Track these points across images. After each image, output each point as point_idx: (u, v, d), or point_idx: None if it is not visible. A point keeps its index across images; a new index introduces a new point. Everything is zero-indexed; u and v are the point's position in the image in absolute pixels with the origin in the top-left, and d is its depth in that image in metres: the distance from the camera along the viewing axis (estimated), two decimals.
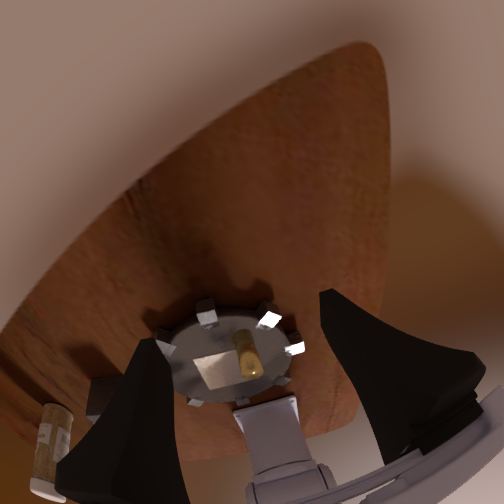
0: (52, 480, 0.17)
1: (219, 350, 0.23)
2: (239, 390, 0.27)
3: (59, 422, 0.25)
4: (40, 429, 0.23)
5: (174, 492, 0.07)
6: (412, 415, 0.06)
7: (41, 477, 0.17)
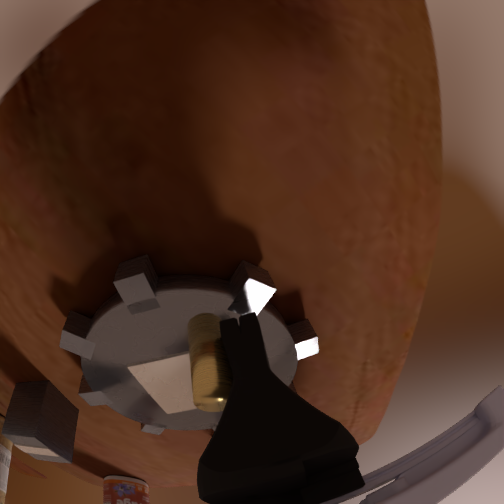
0: None
1: (168, 352, 0.13)
2: (215, 414, 0.16)
3: None
4: None
5: None
6: None
7: None
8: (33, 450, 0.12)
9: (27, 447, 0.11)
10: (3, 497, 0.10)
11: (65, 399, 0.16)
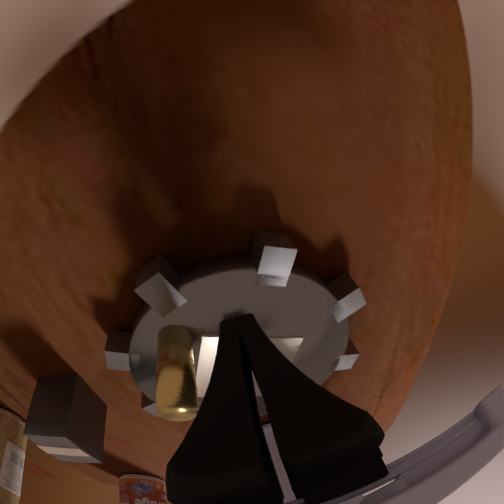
0: None
1: None
2: (313, 363, 0.16)
3: (8, 435, 0.14)
4: None
5: (275, 476, 0.07)
6: (284, 467, 0.05)
7: None
8: (59, 451, 0.12)
9: (53, 448, 0.12)
10: (17, 501, 0.10)
11: (94, 394, 0.16)
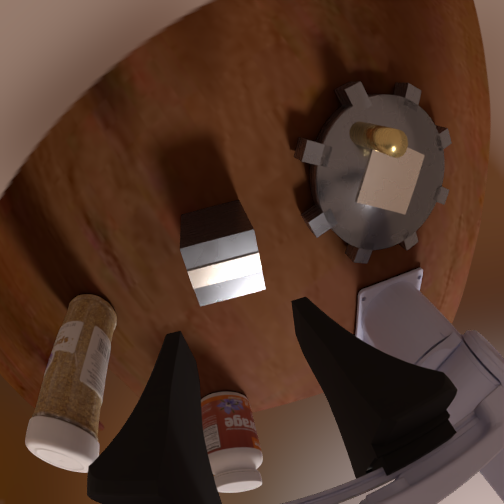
0: (76, 420, 0.11)
1: (363, 168, 0.18)
2: (426, 186, 0.20)
3: (96, 320, 0.19)
4: (60, 333, 0.17)
5: (207, 489, 0.07)
6: (372, 435, 0.06)
7: (52, 414, 0.11)
8: (222, 271, 0.16)
9: (214, 268, 0.16)
10: (99, 411, 0.14)
11: None
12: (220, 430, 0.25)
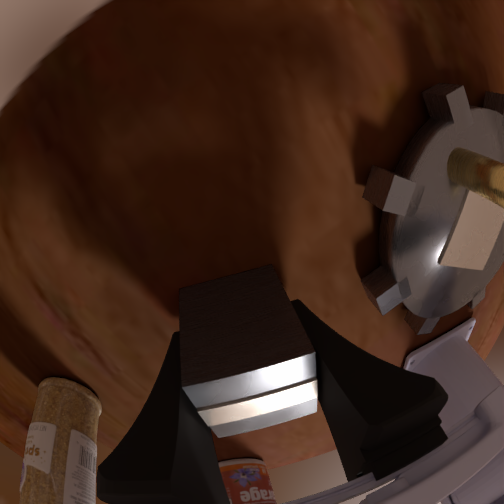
0: None
1: (454, 217, 0.11)
2: None
3: (73, 420, 0.11)
4: (29, 435, 0.09)
5: (216, 488, 0.07)
6: (361, 440, 0.06)
7: None
8: (255, 407, 0.09)
9: (242, 404, 0.08)
10: None
11: None
12: None
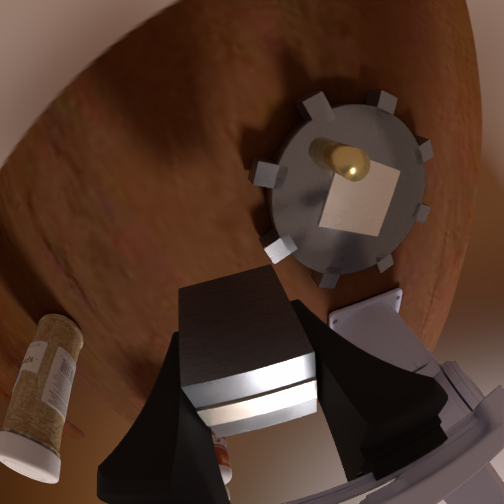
0: (36, 437, 0.10)
1: (325, 189, 0.17)
2: (403, 205, 0.19)
3: (61, 340, 0.18)
4: (27, 352, 0.15)
5: (216, 488, 0.07)
6: (361, 440, 0.06)
7: (15, 430, 0.10)
8: (254, 407, 0.09)
9: (241, 404, 0.08)
10: (61, 428, 0.13)
11: None
12: None
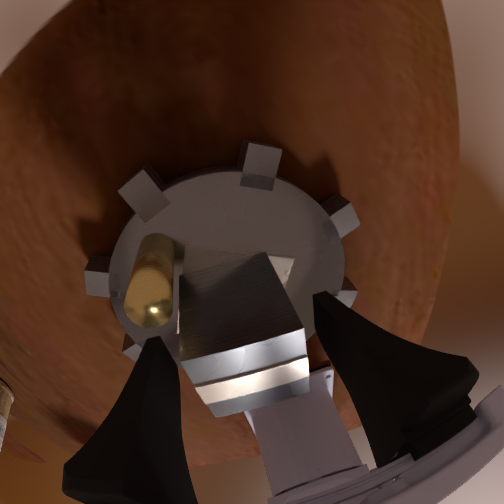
0: None
1: (176, 294, 0.13)
2: (308, 296, 0.15)
3: None
4: None
5: (182, 491, 0.07)
6: (403, 420, 0.06)
7: None
8: (249, 384, 0.09)
9: (237, 381, 0.09)
10: None
11: None
12: None
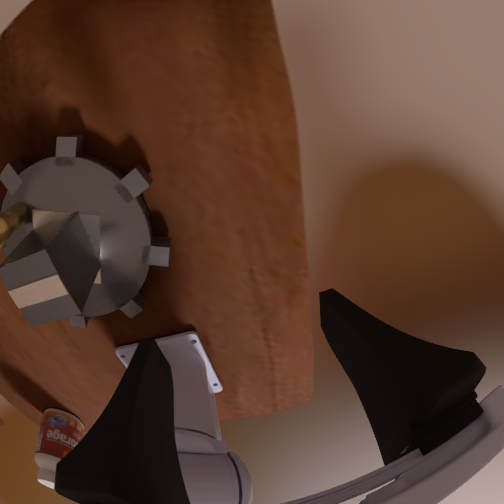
0: None
1: None
2: (122, 250, 0.17)
3: None
4: None
5: (174, 492, 0.07)
6: (412, 415, 0.06)
7: None
8: (33, 293, 0.12)
9: (26, 289, 0.12)
10: None
11: (89, 243, 0.16)
12: (43, 438, 0.22)
